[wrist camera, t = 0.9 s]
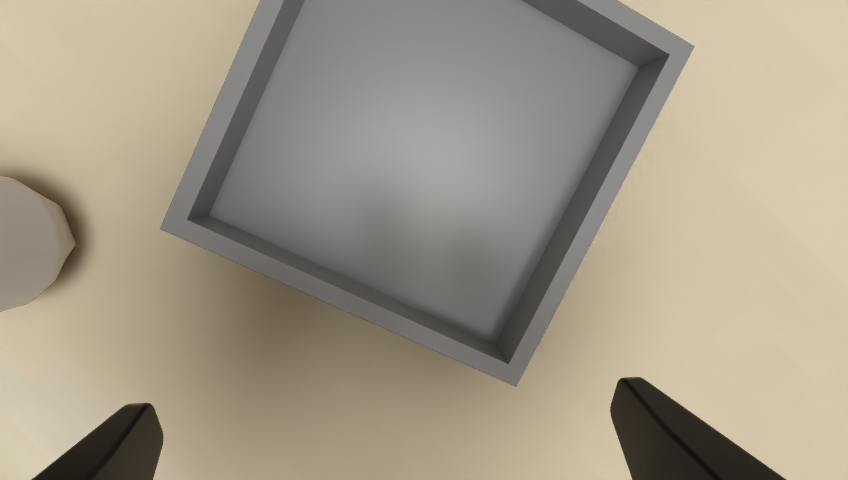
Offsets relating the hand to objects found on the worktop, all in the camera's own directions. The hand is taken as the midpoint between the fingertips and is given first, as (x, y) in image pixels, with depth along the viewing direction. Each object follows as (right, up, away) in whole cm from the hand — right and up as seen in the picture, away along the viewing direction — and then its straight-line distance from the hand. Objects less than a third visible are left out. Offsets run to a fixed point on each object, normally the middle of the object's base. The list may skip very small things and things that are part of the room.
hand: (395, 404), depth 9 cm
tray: (+1, +8, +13) cm, 15 cm away
